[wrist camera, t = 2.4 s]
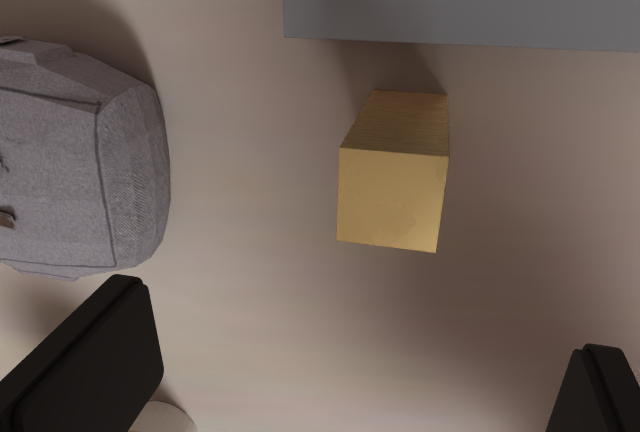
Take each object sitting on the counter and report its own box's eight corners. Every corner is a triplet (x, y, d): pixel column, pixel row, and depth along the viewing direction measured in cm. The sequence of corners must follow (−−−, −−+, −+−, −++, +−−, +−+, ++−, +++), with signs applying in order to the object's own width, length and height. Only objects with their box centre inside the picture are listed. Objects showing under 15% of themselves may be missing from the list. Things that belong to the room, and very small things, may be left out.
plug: (447, 94, 26) (449, 157, 17) (437, 164, 28) (435, 252, 19) (373, 89, 27) (339, 147, 18) (368, 158, 28) (336, 240, 20)
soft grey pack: (174, 43, 28) (-108, 9, 31) (80, 69, 21) (-273, 20, 24) (187, 258, 35) (-44, 212, 38) (121, 333, 28) (-157, 268, 31)
